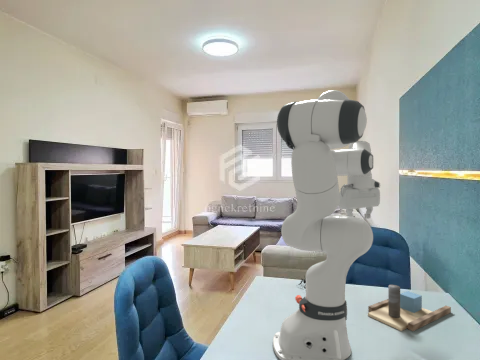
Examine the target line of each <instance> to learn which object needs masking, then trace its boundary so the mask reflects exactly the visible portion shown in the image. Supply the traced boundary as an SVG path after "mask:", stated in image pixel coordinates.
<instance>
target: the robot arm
mask: <svg viewBox="0 0 480 360" xmlns="http://www.w3.org/2000/svg"><path fill="white" fill-rule="evenodd" d="M367 119H368V118H367V113H366V109H365V107H364V105H363V104H362V103H361V102H360V101H358V100H354V99H350V98H349V97H348V96H347V95H346V93H344V92H342V91H341V90H338V89H337V90H335V89H333V90H332V89H331V90H327V91H325V92H323V93H321V94H320V95H319V96H318V97H317V99H310V100H303V101H299V102H298V101H293V102H289V103H286V104H284V105H283V106H281V108H280V110H279V112H278V114H277V118H276V126H277V127H276V129H277V131H278V134H279V137H281V139H282V141H283V142H285V144H286V146H287V147H288V148H289V149H290V150H292V151H291V162H290V163H291V174H292V181H293V186H294V187H293V188H294V192H295V196H296V205H297V206H296V209H295V210H294V211H293V212H292V213H291V214H290V215H287V216H286V218H285V219H284V220H283V221H282V225H281V230H280V233H281V238H282V240H283V242H284V243H285V244H286V245H287V247H291V248H294V249H297V250H300V251H304V252H305V251H306V252H307V251H308V252H316V253H317V252H318V253H323V254H325V255H326V259H325V260H323V261H319V262H317V263H315V264H313V265H311V266H310V267H309V268H308V269H307V271H306V272H305V280H306V283H305V284H306V286H305V296H304V297H302V296H301V295H300V294H297V295H296V296H295V298H294V299H295V301H296V303H297V304H298V309H297V310H295V311H294V312H293V313H291V314H289V316H287V317H286V318H284V319H283V321H282V322H281V326H280V331H276V332H275V334H274V335H273V337H272V349H273V351H274V354H275V355H276V356H277V358H278V359H279V360H346V359H348V358H349V357H350V355H351V354H352V346H351V343H350V340H349V335H348V334H349V333H348V329H347V319H348V306H347V305H348V303H347V300H346V282H347V275H348V272H349V270H350V267H352V265H353V263H354V262H355V261H356V260H357V259H358V258H360V257H362V256H363V255H364V254H366V253H367V252H368V251H369V250H370V248H371V247H372V245H373V243H374V233H373V229H372V227H371V225H370V223H369V222H368V221H367V220H366V219H369V220H370V219H371V217H372V216H371V215H372V212H373V210H374V207H379V205H380V204H381V191H380V188H381V183H380V182H379V181H377V180H375V179H373V174H372V170H373V169H374V155H373V154H372V148H371V144H370V143H369V142H367V141H365V140H364V141H363V140H361V138H362V137H363V135H364V132H365V131H366V127H367V123H368V122H367ZM347 146H348V148H347V149H345V148H346V147H347ZM344 147H345V148H344ZM341 148H344V149H341ZM338 176H341V177H342V176H343V177H344V176H347V177H346V178H347V184H343V185H342V186H341V187H339V179H338ZM338 207H339V208H340V209H341V210H345V211H346V214H347V215H339V214H333V213H334V212H335V211H336V210H337V209H338ZM363 208H365V210H366V211H365V213H364V218H365V219H364V218H360V217H356V215H354V214H353V212H354V209H363Z"/></svg>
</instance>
